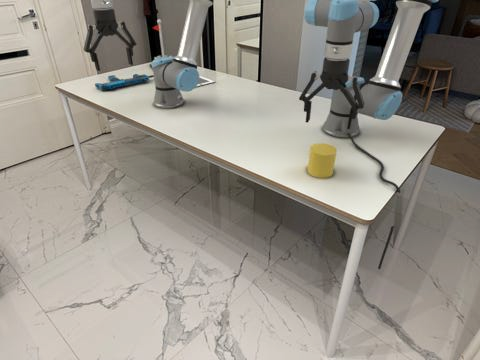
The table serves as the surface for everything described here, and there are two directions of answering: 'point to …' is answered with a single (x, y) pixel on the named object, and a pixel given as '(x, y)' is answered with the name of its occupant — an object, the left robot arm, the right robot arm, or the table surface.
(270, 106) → the table surface
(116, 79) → the submachine gun
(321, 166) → the tin
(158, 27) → the flag stand
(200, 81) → the tablet
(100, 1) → the left robot arm
